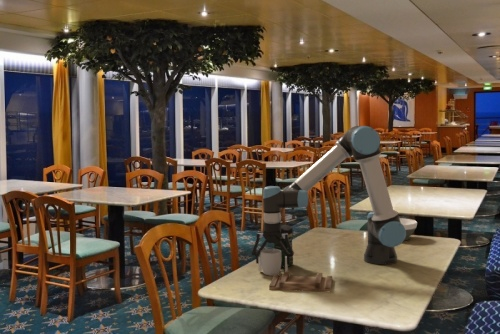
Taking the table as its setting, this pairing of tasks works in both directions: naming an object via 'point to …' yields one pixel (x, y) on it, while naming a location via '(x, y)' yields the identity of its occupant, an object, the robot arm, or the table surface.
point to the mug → (271, 261)
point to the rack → (301, 283)
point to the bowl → (408, 226)
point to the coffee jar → (285, 230)
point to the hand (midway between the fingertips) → (273, 271)
